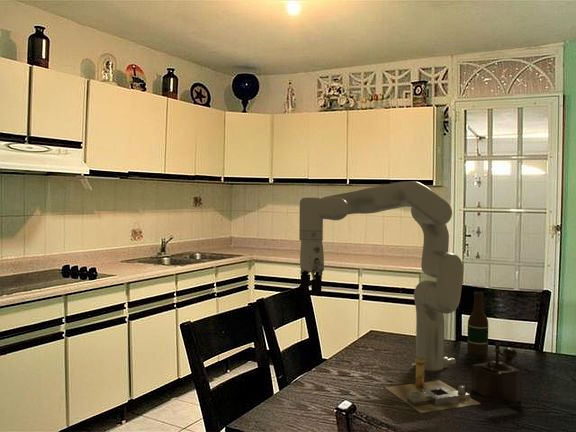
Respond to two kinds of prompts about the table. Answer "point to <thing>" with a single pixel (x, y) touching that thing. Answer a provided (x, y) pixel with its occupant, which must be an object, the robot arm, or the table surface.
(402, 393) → the maple board
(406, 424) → the table surface
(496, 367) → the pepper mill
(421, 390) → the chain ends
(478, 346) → the beer bottle
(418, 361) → the brass pin
